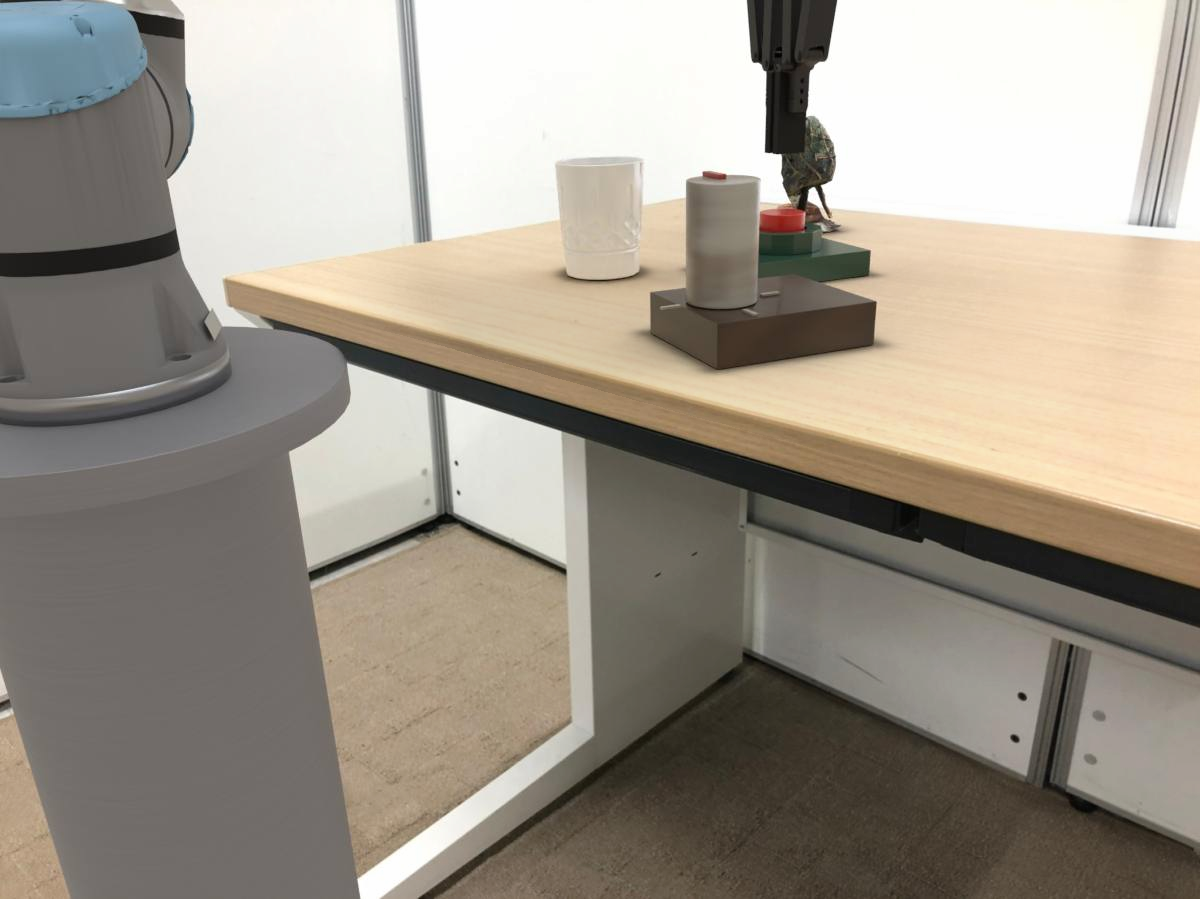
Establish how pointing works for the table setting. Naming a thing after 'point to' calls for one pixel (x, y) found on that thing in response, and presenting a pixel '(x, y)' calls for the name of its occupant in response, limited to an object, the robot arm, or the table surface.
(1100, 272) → the table surface
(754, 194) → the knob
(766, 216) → the button
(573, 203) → the white cup
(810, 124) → the stone bird figurine
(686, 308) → the panel
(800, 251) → the switchbox
